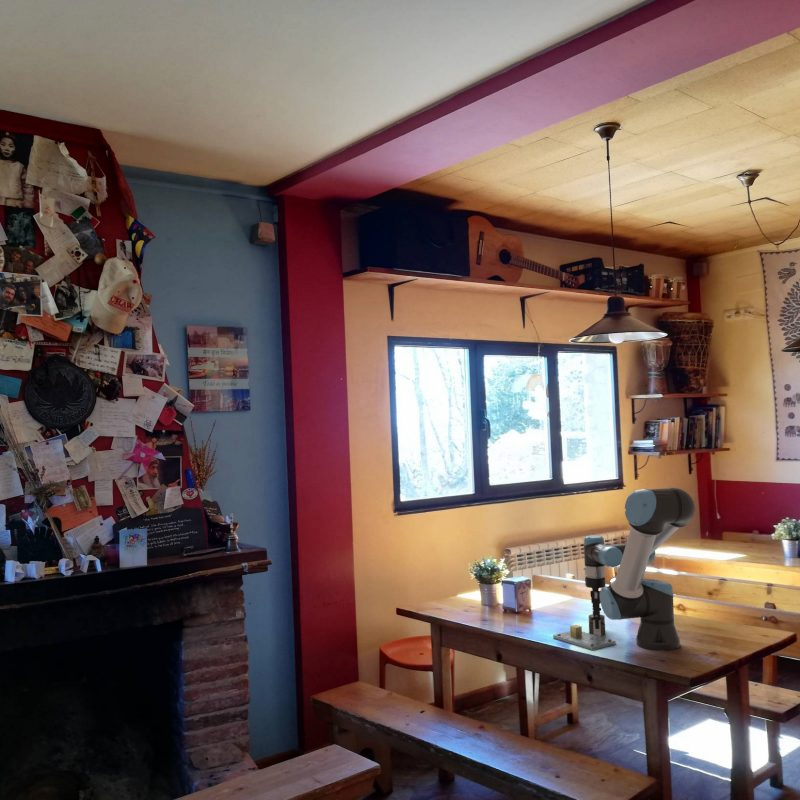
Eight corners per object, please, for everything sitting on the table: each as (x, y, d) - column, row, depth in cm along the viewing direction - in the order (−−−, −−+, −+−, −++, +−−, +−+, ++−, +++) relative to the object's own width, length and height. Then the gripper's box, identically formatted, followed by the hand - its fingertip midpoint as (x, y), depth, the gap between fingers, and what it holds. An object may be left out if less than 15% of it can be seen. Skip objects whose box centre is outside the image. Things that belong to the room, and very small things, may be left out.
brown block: (605, 631, 306) (604, 613, 307) (605, 635, 301) (604, 616, 301) (589, 630, 308) (588, 612, 308) (589, 634, 302) (588, 616, 302)
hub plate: (615, 644, 288) (615, 631, 288) (591, 650, 282) (591, 637, 282) (576, 632, 305) (576, 620, 305) (552, 638, 299) (552, 625, 299)
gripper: (584, 570, 318) (586, 624, 317) (585, 582, 294) (587, 641, 293) (604, 570, 316) (606, 624, 315) (606, 583, 292) (608, 641, 291)
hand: (597, 632), depth 304 cm, fingers open, 12 cm apart
